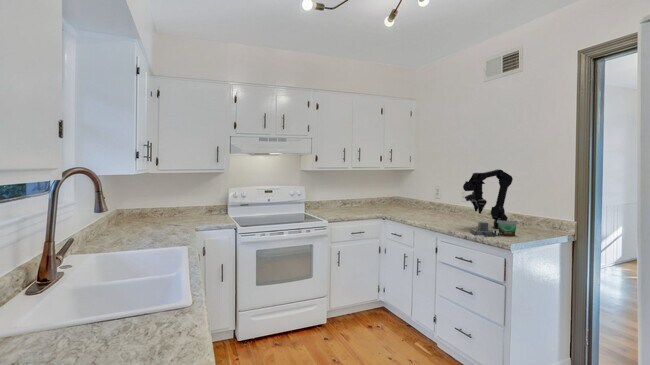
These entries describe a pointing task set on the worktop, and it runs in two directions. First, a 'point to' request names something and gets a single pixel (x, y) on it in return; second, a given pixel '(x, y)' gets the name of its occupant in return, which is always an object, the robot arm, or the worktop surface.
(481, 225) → the block
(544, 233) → the worktop surface
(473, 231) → the holder
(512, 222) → the food container
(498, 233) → the clip
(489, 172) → the robot arm
